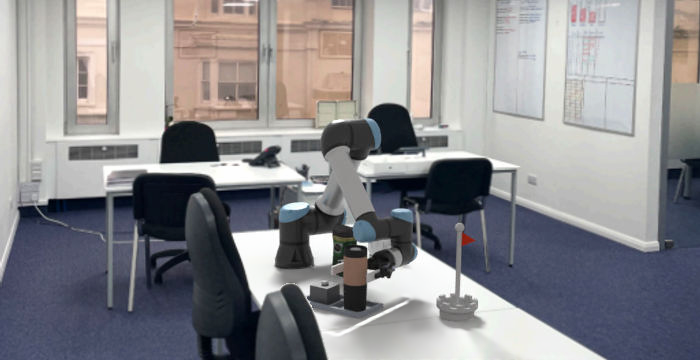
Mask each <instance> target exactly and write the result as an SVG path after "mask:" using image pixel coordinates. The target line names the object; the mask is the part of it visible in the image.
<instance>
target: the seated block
mask: <svg viewBox="0 0 700 360" xmlns="http://www.w3.org/2000/svg"><path fill="white" fill-rule="evenodd" d="M309 294H310V301H313V302H317V303H321V304H325V305H330V304H332V303H335V302H337V301H339V300H340V294H341V283H339V282H338V283H337V282H333V281H329V280H324V279H322V280H320V281H318V282H314V283H312V284H310V285H309Z"/></svg>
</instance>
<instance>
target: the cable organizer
mask: <svg viewBox="0 0 700 360" xmlns="http://www.w3.org/2000/svg"><path fill="white" fill-rule="evenodd" d="M388 247H391V239H387V240H380V241H374V242H371V243H367V252H368V253H369V254H370V255H371V256H372V255H373V254H374V253H375V252H378V251H380V250H383V249H385V248H388Z"/></svg>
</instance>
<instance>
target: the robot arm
mask: <svg viewBox="0 0 700 360" xmlns="http://www.w3.org/2000/svg"><path fill="white" fill-rule="evenodd" d="M319 143H320V145H319V146H320V151H321V155H322V157H323V159H324V161H325V162H326V163H329V166H330V168H331V170H332V171H331V174H330V175H329V179H328V181H327V184H326V186H325V188H324V190H323V193H322V194H321V195H319V196H318V197H317V198H316V200H315V202H314V204H311V205H310V203H308V202H303V201H302V202H301V201H299V202H291V203H287V204H284V205H283V206H281V208H280V210H279V213H278V215H279V216H278V221H279V223H278V224H279V225H278V227H279V231H278V234H279V237H278V239H279V244H278V248H277V250H276V255H275V257H274V265H275V266H277V267H279V268H282V269H287V270H288V269H290V270H293V269H294V270H296V269H297V270H298V269H299V270H300V269H305V268H306V269H307V268H311V267H312V266H314V264H315V257H314V255H313V252H312V248H311V244H310V242H311V241H310V239H311V238H310V236H316V235H317V236H318V235H326V234H332V232H333V228H334V226H336V225H342V224H343V225H346V222H347V216H348V213H347V209H346V208H345V207H346V206H345V203H344V202H345V201H346V203H347V206H348V208H349V210H350V212H351V214H352V217H353V219H354V221H355V223H353V225H352V227H353V236H354V238H355V239H356V241H357V243H361V244H365V243H366V244H368V243H371V242H374V241H380V240H387V239H391V247H388V248H385V249H383V250H380V251H378V252H375V253H374V254H373V255H371V257H369V258H368V257H367V271H368V270H369V271H370V272H367V276H366V282H367V284H369V283H371V282H373V281H376V280H379V279H380V278H381V279H384V278H385V277H386V279H391V277H392V274H393V272H396V269H397V268H400V267H404V266H406V265H409V264H410V263H413V261H415V260H416V259H417V257H418V254H419V253H418V248H417V245H416V244H415V243H414V242H413V233H414V232H413V230H414V229H413V227H414V217H413V216H414V215H413V214H414V212H413V211H412V210H410V209H409V208H394V209H392V210H391V211H390V216H385V217H379V216H378V215H377V212H376V210H375V208H374V205H373V203H372V202H371V199H370V197H369V195H368V193H367V191H366V189H365V186H364V184H363V182H362V180H361V177H360V175H359V173H358V170H359V166H360V164H361V162H363V161H365V160H367V158H368V157H369V155H370V152H371V151H375V150H378V149H379V148H380V145H381V143H382V134H381V129H380V127H379V125H378V123H377V122H376V121H375V120H374V119H373V118H364V117H362V118H352V119H351V118H350V119H349V118H348V119H336V120H332V121H331V122H329V123H328V124H327V125H326V126H325V127H324V129H323V131H322V133H321V135H320V142H319ZM343 268H344V260H338V264H337V265H334V266H332V265H331V266H330V275H331V276H336V275H335V274H338V273H340V272H343Z"/></svg>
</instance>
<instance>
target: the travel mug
mask: <svg viewBox="0 0 700 360" xmlns="http://www.w3.org/2000/svg"><path fill="white" fill-rule="evenodd" d="M367 259H368V246H365V245H364V244H363V245H361V244H357V245H348V246H345V247H344V268H343V277H342V278H343V279H342V280H343V281H342V282H343V283H342V285H343V286H342V288H343V290H342V291H343V293H342V294H343V295H344V309H346V310H350V311H355V312H361V311H364V310H366V300H368V299H367V296H368V295H367V294H368V283H367V282H366V276H367V274H368V270H367Z"/></svg>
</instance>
